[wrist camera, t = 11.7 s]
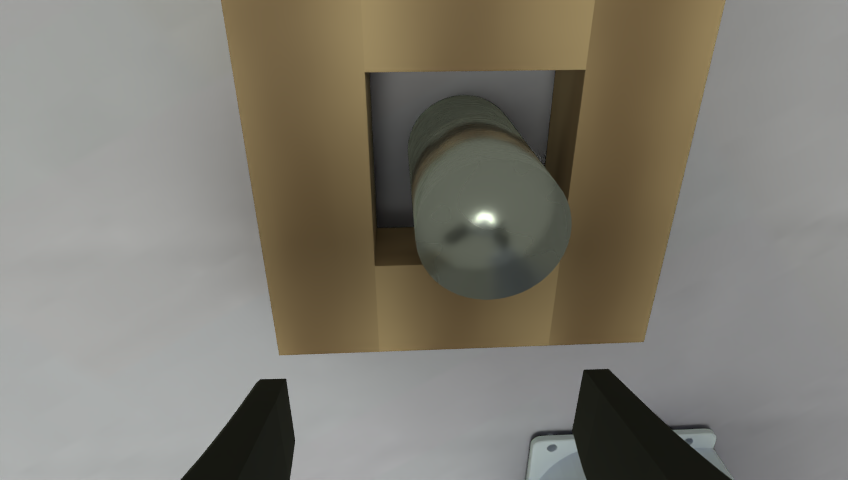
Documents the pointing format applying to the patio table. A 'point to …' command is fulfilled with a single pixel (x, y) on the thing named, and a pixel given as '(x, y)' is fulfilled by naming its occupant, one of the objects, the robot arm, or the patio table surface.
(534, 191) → the grey rounded piece
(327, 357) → the patio table surface
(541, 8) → the socket block
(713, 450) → the robot arm
